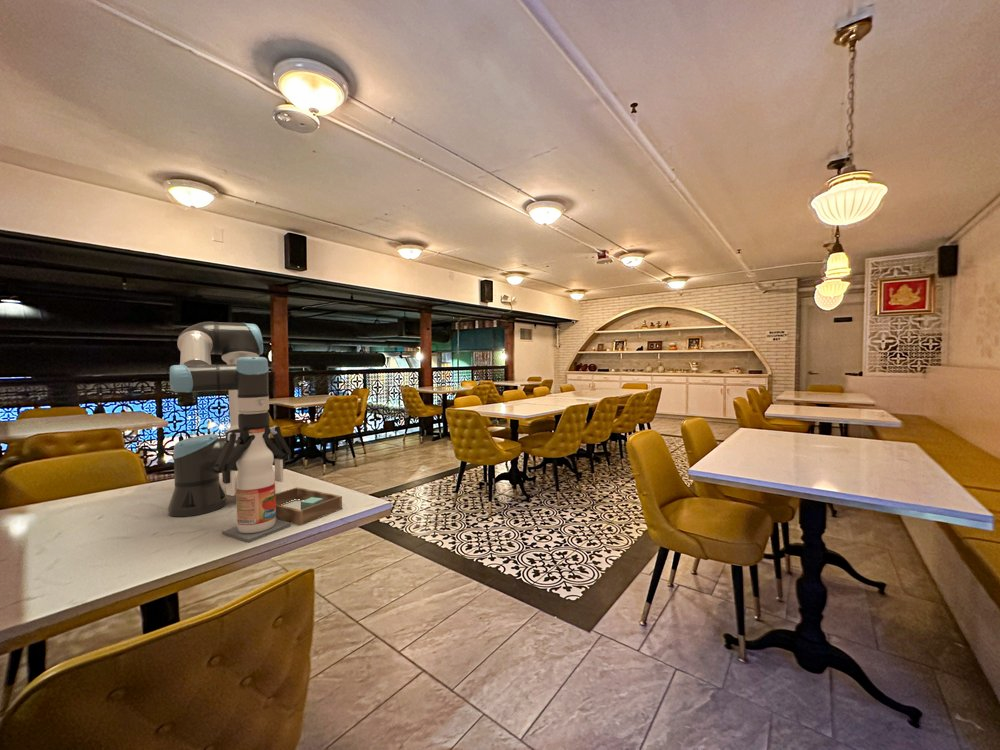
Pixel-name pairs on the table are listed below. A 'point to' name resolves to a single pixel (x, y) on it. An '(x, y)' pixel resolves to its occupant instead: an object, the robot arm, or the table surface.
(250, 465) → the fruit juice
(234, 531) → the slate coaster
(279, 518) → the brown wooden tray
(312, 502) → the teal block
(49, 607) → the table surface
